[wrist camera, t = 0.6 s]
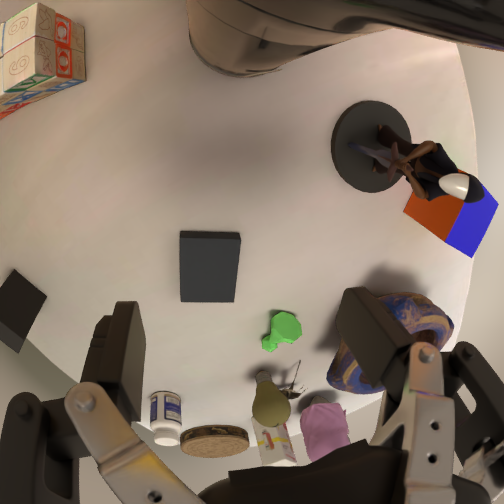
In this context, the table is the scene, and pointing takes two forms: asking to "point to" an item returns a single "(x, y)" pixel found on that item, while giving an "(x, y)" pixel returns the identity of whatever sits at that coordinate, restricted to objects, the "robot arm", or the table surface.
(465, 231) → the cube
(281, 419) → the light bulb
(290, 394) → the insect
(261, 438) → the ink box
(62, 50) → the stack of blocks
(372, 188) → the figurine
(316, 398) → the toy character
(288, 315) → the game piece
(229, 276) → the dark gray flat block
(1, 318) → the black rectangular block
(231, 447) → the wood slice
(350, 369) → the bowl
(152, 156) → the table surface
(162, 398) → the pill bottle
